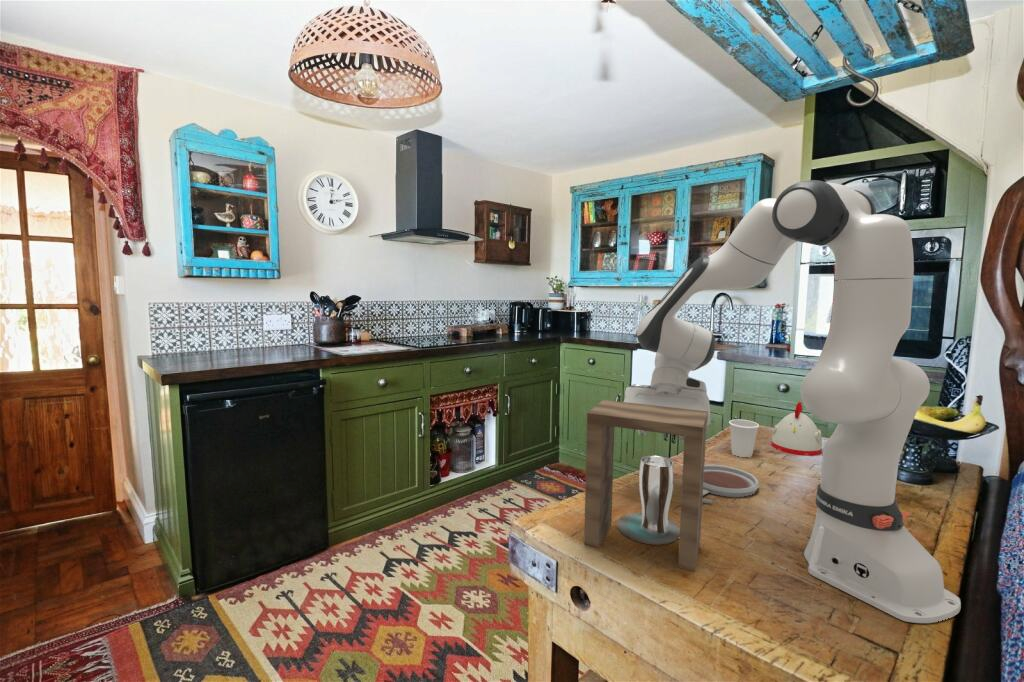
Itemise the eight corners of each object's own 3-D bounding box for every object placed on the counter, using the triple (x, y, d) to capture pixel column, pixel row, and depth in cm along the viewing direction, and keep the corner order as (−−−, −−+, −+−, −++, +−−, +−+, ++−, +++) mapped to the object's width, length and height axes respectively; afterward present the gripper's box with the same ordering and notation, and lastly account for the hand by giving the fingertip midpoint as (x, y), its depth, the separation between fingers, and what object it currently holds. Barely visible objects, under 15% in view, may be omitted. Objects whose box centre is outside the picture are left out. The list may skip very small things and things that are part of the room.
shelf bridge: (607, 506, 113) (611, 393, 110) (703, 525, 104) (710, 404, 101) (584, 543, 96) (587, 413, 93) (695, 571, 87) (702, 427, 84)
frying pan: (651, 486, 120) (709, 458, 137) (650, 497, 120) (708, 468, 138) (716, 510, 107) (771, 476, 124) (716, 523, 107) (770, 487, 125)
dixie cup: (746, 461, 142) (748, 428, 141) (721, 452, 149) (723, 421, 148) (762, 456, 146) (765, 424, 145) (737, 448, 153) (739, 417, 152)
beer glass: (674, 526, 103) (677, 459, 101) (667, 541, 97) (670, 469, 95) (642, 518, 106) (644, 452, 105) (633, 532, 100) (635, 463, 99)
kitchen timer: (766, 449, 153) (770, 403, 151) (776, 438, 163) (779, 395, 162) (818, 459, 144) (822, 410, 142) (824, 447, 155) (828, 402, 153)
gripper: (625, 376, 121) (614, 424, 114) (712, 383, 112) (707, 434, 105) (628, 391, 126) (619, 437, 118) (712, 398, 117) (708, 448, 109)
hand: (661, 436), depth 111 cm, fingers open, 8 cm apart
